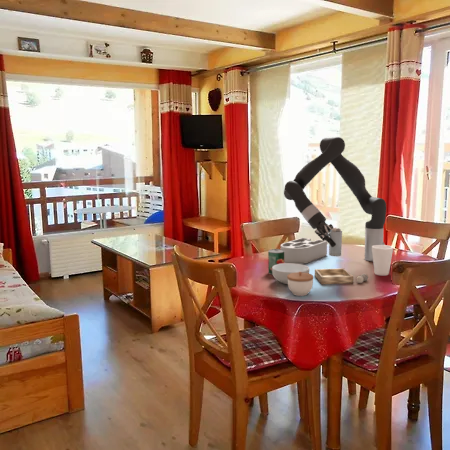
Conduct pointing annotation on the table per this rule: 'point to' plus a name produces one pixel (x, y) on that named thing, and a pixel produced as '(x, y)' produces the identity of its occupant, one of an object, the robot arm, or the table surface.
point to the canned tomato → (275, 258)
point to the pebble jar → (337, 238)
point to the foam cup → (382, 258)
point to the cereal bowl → (287, 271)
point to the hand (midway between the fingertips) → (337, 244)
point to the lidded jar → (300, 283)
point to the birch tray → (333, 276)
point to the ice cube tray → (303, 250)
